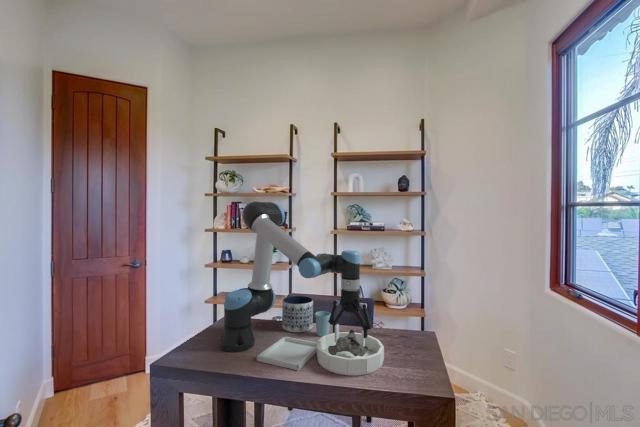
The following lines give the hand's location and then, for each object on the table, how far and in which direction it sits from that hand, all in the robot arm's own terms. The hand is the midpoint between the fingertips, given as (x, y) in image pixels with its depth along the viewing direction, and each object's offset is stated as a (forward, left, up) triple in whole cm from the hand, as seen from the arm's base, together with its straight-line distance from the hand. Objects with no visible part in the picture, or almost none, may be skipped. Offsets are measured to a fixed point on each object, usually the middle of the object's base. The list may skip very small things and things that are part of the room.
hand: (349, 343), depth 126 cm
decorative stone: (0, -1, -4) cm, 4 cm away
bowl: (0, 0, -6) cm, 6 cm away
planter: (-36, +23, -7) cm, 43 cm away
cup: (-20, +19, -7) cm, 28 cm away
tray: (-24, -6, -6) cm, 25 cm away
